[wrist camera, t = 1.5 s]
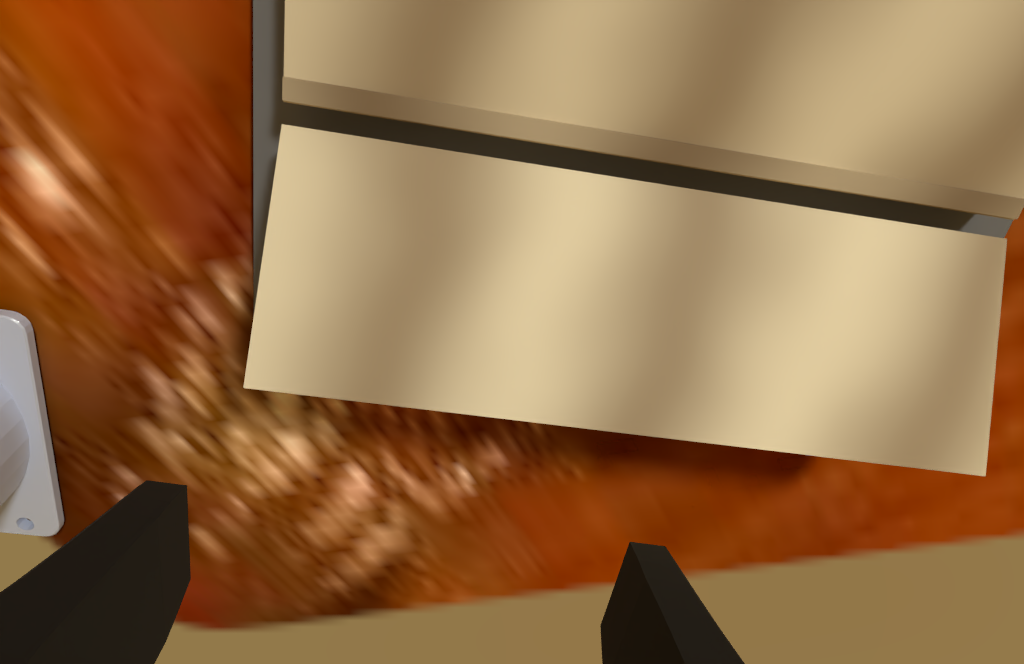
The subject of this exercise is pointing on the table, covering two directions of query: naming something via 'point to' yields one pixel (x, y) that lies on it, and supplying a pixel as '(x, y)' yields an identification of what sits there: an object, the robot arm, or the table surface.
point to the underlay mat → (527, 153)
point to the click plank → (622, 306)
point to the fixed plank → (699, 84)
